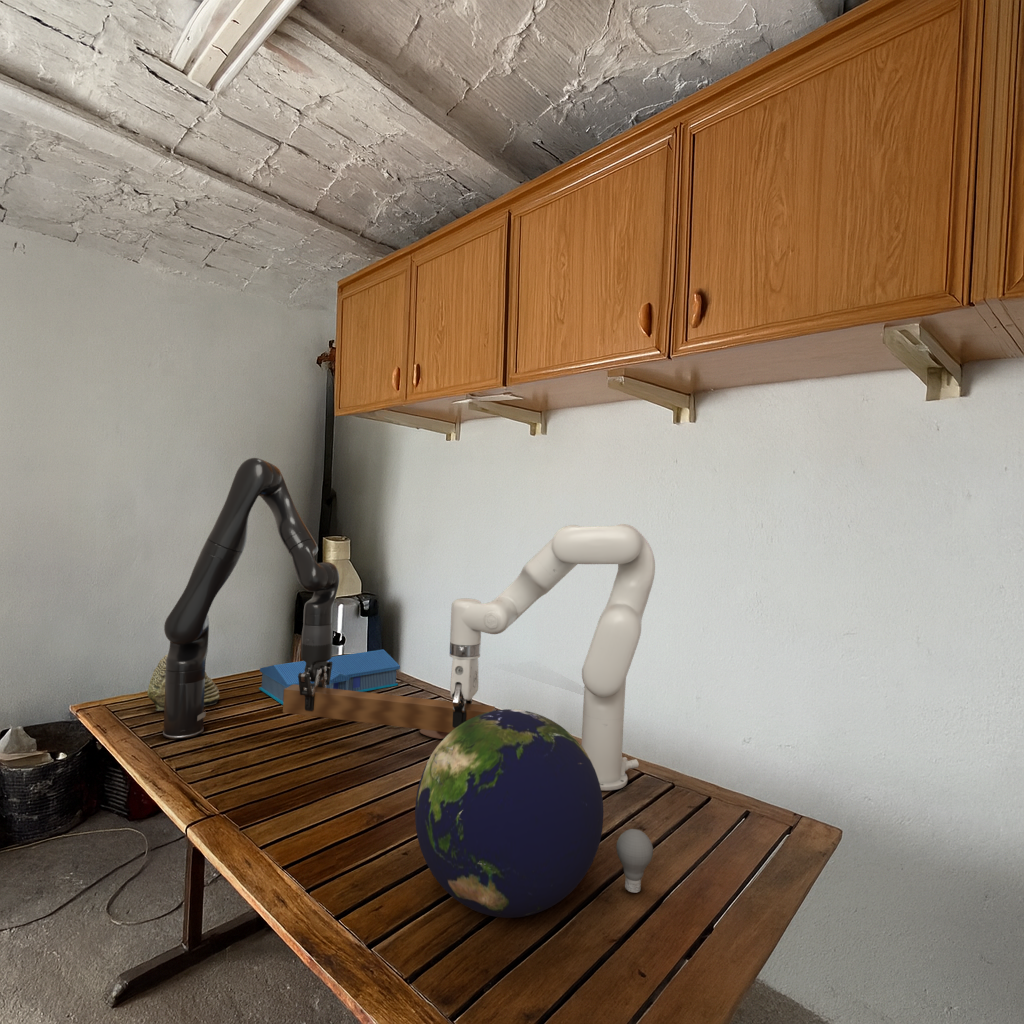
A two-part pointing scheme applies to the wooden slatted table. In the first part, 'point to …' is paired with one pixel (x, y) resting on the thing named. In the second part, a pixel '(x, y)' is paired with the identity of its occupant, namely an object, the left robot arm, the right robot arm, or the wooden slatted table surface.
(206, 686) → the fossil
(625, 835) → the light bulb
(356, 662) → the model building
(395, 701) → the post
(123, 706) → the wooden slatted table surface
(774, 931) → the wooden slatted table surface
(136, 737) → the wooden slatted table surface
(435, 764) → the globe
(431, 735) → the anatomical model
